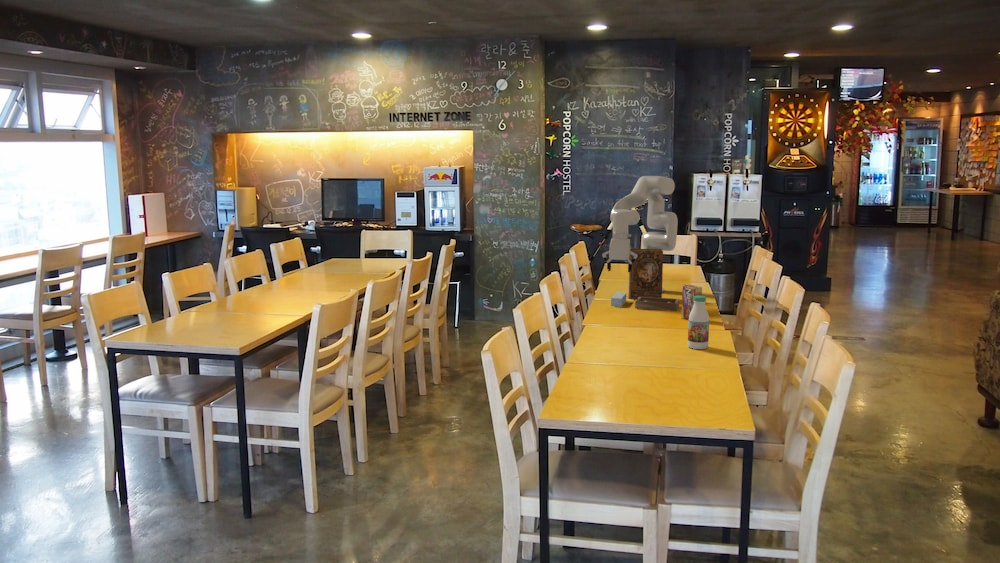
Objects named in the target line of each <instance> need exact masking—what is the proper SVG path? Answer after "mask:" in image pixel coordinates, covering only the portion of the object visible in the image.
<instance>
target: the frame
mask: <svg viewBox="0 0 1000 563" xmlns="http://www.w3.org/2000/svg"><path fill="white" fill-rule="evenodd" d="M634 304H635V305H634V309H635V308H637V309H636V310H650V309H653V310H652V311H667V310H670V312H672V311H673V312H677V311H678V310H679V309H678V308H679V307H680V298H673V297H672V298H670V297H669V298H668V297H662V298H653V297H638V298H637V299H635V301H634Z"/></svg>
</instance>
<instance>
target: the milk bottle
mask: <svg viewBox="0 0 1000 563" xmlns="http://www.w3.org/2000/svg"><path fill="white" fill-rule="evenodd" d="M693 302H694V306H693V308H692V310H691V312H690V315H689V320H688V322H687V323H688V324H687V325H688V327H687V328H688V329H687V347H688V348H689V347H690V348H689V349H692V348H693V349H692V350H706V348H707V349H708V348H709V339H710V338H709V337H710V336H709V334H710V315H709V312H708V310H707V306H706V303H707V297H706V296H705V295H702V296H694V301H693Z"/></svg>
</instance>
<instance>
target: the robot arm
mask: <svg viewBox="0 0 1000 563" xmlns="http://www.w3.org/2000/svg"><path fill="white" fill-rule="evenodd" d="M675 187H676V185H675V182H674V179H673V178H671V177H665V176H662V175H643V176H640V177H639V178H638V179H637V181H636V183H635V185H634V187H633V189H632V190H631V192H630V193H629V194H628V195H625V196H624V197H622V198H621V199H618V201H617V202H616V203H615V204H614V206H613V207H612V209H611V211H610V218H609V220H610V222H611V223H612V237H611V239H610V242H609V250H607V251H605V252H602V254H601V256H602V258H603V260H604V261H605V262H606V264H607V265H606V269H607V270H608V272H611V270H612V261H613V260H615V261H627V262H628V265H627V271H628V272H627V273H629V272H630V270H632V263H633V262H634V261H635V260H636V258H637V257H638V255H637V254H635V253H633V252H632V251H631V249H632V247H631V246H632V245H631V239H630V238H632V234H630V233H629V226H634V225H637V224H639V222H640V218H641V216H640V213H639V212H638V210H636V209H634V208H638V207H641V206H643V205H645V203H646V202H647V203H648V204H647V215H646V216H647V217H646V225H647V227H648V228H649V229H651V230H660V231H647V232H645V233H644V234H643V236H642V249H661V250H662V251H663V252H671V251H673V250H674V249H675V248H676V246H677V238H678V237H677V236H678V235H677V234H678V225H679V224H678V222H679V220H678V216H677V214H676V213H675V212H672V211H665V202H666V201H665V199H664V197H663V196H664V195H666V196H667V195H669V196H670V195H671V194H673V192H674V190H675ZM662 195H663V196H662ZM661 230H663V231H665V232H662V231H661ZM607 255H608V257H607ZM631 255H633V256H634V258H633V259H632V260H631V259H630V257H631ZM664 291H665V289H664V288H663V287H662V293H663V292H664Z"/></svg>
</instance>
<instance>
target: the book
mask: <svg viewBox="0 0 1000 563" xmlns="http://www.w3.org/2000/svg"><path fill="white" fill-rule="evenodd" d="M631 251H632V252H633V253H635V254H637V255H638V257H637V258H636V260H635V261H634V262H633V263H632V270H630V272H628V299H630V300H637V298H638V297H653V298H663V292H662V288H663V269H664V265H663V264H664V261H663V260H664V251H662V250H661V249H643V248H631ZM633 258H634V256H633V255H631V257H630V259H631V260H632V259H633Z"/></svg>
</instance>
